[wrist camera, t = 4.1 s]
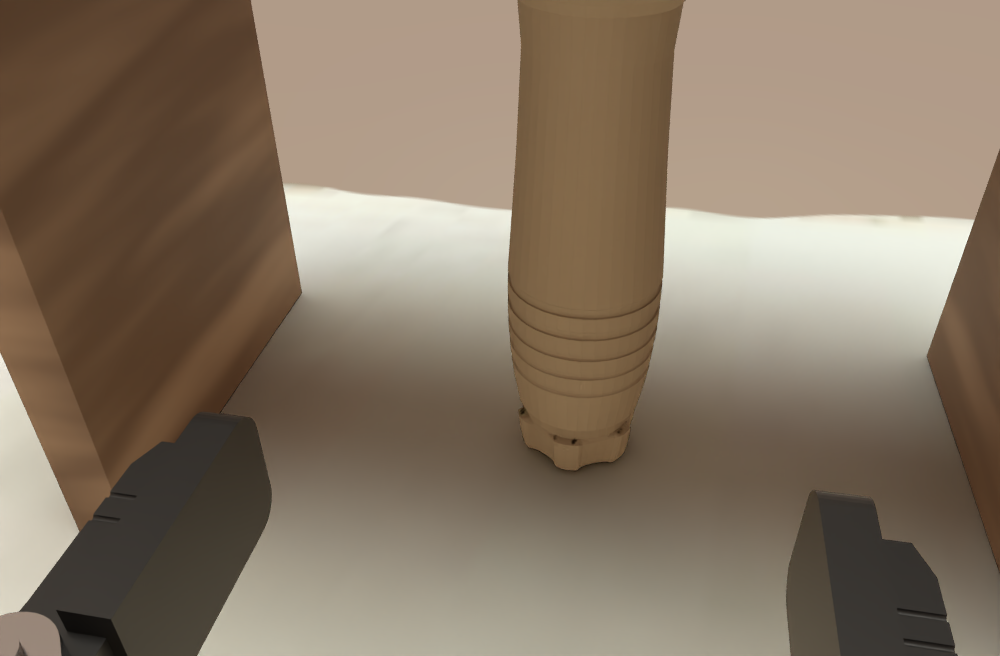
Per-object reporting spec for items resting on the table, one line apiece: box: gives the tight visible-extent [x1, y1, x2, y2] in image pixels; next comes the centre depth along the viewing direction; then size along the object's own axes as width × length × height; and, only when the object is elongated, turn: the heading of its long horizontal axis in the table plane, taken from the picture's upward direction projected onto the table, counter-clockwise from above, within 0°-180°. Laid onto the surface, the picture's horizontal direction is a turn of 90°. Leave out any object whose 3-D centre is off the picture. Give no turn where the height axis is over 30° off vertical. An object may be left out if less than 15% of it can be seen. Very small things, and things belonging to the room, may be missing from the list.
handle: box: [508, 0, 685, 471], centre depth 21 cm, size 5×6×15 cm
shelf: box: [0, 0, 1000, 572], centre depth 19 cm, size 25×12×24 cm, turn 79°
